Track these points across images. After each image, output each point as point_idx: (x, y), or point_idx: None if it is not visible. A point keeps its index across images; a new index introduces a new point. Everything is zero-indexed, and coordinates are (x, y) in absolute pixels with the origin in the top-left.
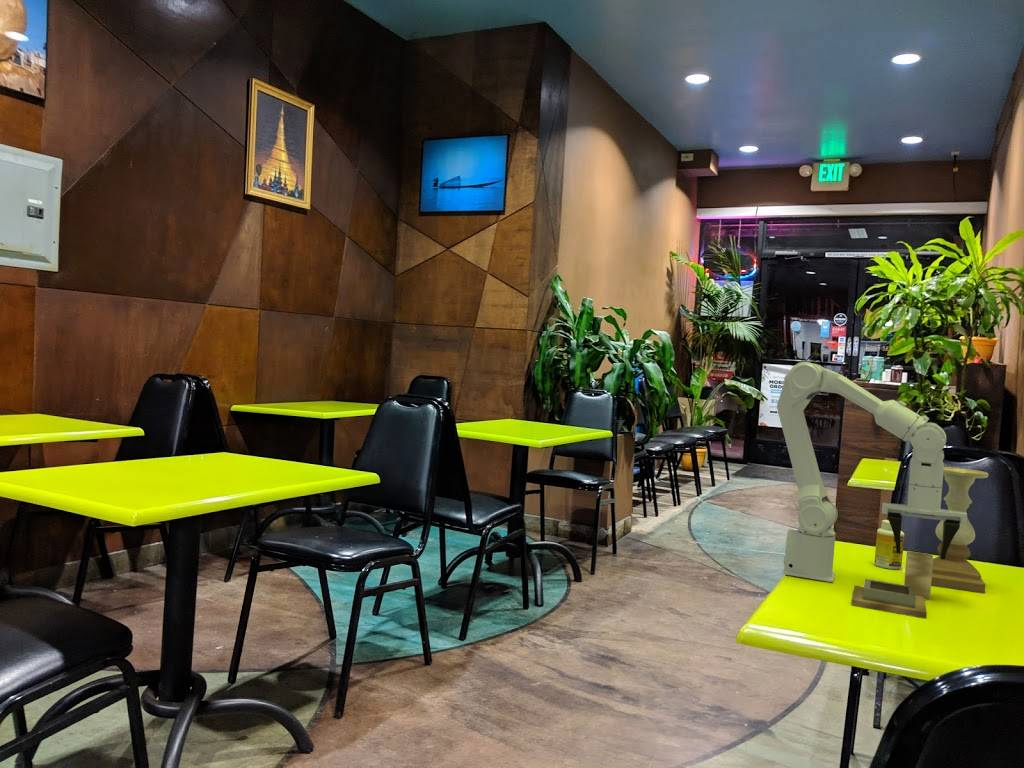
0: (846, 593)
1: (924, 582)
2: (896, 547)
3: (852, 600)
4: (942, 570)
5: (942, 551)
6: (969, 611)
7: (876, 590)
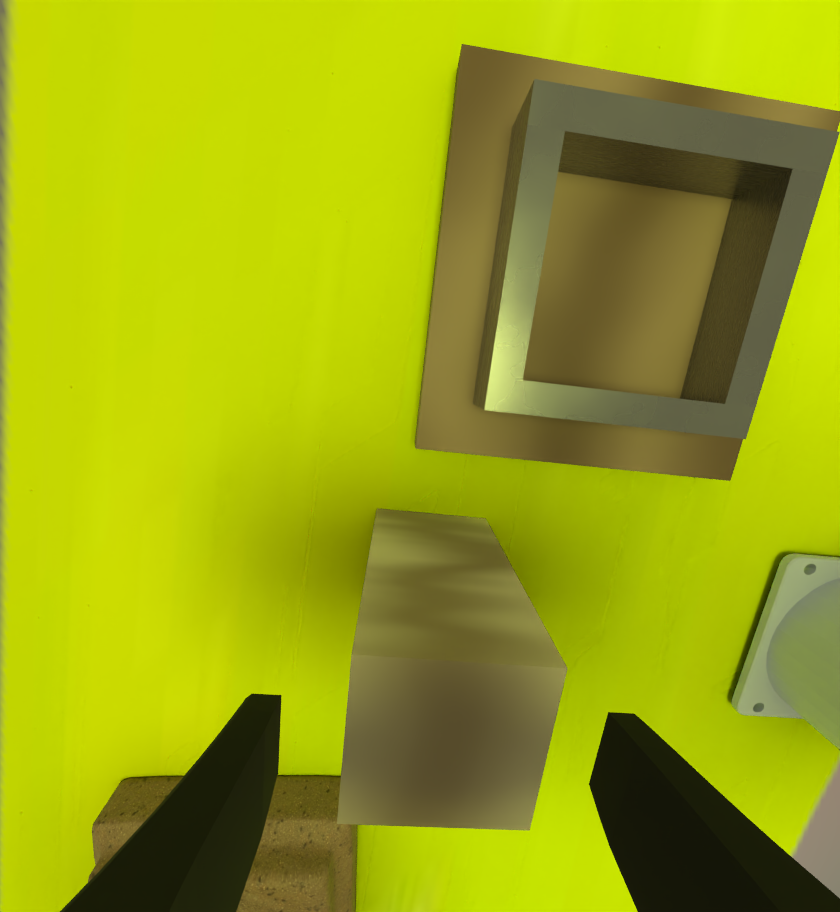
0: (762, 392)
1: (406, 547)
2: (676, 752)
3: (835, 114)
4: (269, 877)
5: (245, 754)
6: (214, 396)
7: (766, 121)
